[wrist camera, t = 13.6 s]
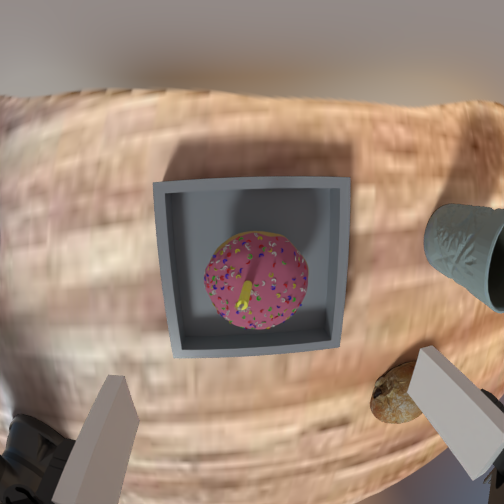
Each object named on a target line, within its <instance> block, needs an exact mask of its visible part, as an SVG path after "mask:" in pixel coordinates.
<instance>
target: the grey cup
mask: <svg viewBox="0 0 504 504" xmlns="http://www.w3.org/2000/svg"><path fill="white" fill-rule="evenodd" d="M424 251H425V255H426V257H427V260H428V261H429V263H430V264H431V265H432V266H433V267H434V268H435V269H436V270H438V271H439V272H441V273H442V274H444V275H445V276H447V277H448V278H452V279H453V280H454V281H455V282H456V283H458V284H460V285H461V286H463V287H465V288H466V289H467V290H468V291H469V292H470V293H471V294H473V295H474V296H475V297H476V298H478V299H479V300H480V301H482V302H483V303H484V304H486V305H487V306H488V307H489V308H491V309H492V310H493V311H495V312H497V313H504V209H499V208H498V209H496V210H493V209H492V208H490V207H480V206H472V205H462V204H447V205H444V206H441V207H440V208H439V209H437V210H436V211H435V212H434V214H433V215H432V216H431V218H430V220H429V222H428V224H427V227H426V230H425V235H424Z"/></svg>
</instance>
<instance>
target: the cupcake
mask: <svg viewBox="0 0 504 504" xmlns="http://www.w3.org/2000/svg"><path fill="white" fill-rule="evenodd" d="M308 276H309V269H308V265H307V262H306V260H305V259H304V257H303V256H302V255H301V254H300V251H298V250H297V249H296V248H295V246H294V245H293V244H292V243H291V242H290V241H289V240H288V239H287V238H286V237H285V236H283V235H281V234H276V233H271V232H264V231H248V232H243V233H239V234H236V235H234V236H232V237H230V238H229V239H228V240H226V241H225V242H224V243H222V244H221V245H220V246H219V247H218V248H217V249H216V251H215V252H214V254H213V256H212V257H211V260H210V262H209V264H208V265H207V267H206V269H205V271H204V286H205V289H206V291H207V293H208V295H209V297H210V299H211V301H212V304H213V305H214V307H215V308H216V310H217V313H218V314H220V315H221V316H222V317H224V318H225V319H227V320H228V321H229V323H230V324H231V323H232V324H234V325H236V326H239V327H241V328H245V329H248V328H249V329H270V328H271V327H274V326H275V325H278V324H280V323H282V322H283V323H284V322H285V320H287V319H289V318H290V316H291V317H292V315H293V314H294V313H295V312H296V311H297V309H298V308H299V306H302V304H301V303H302V301H303V299H304V297H305V295H306V292H307V287H308Z"/></svg>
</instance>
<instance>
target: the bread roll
mask: <svg viewBox="0 0 504 504" xmlns="http://www.w3.org/2000/svg"><path fill="white" fill-rule="evenodd" d="M415 365H416V362H413V361H412V362H409V363H404V364H402V365H400V366H398V367H395V368H393V369H392V370H390V371H389V372H388V373H387V374H386V375H385V376H383V377H380V378H379V379H378V380H377V381H376V384H375V389H374V391H373V394H372V398H371V401H370V408H371V411H372V413H373V414H374V416H375V417H376V418H377V419H379V420H381V421H382V422H385V423H391V424H395V423H397V424H400V423H404V422H409V421H411V420H413V419H415V418H417V417H418V416H419V415H421V414H422V413H423V412H422V411H421V410H420V409H419V407H418V406H417V405H416V403H415V402H414V401H413V399H412V398H411V397H410V396H409V394H408V393H407V391H408V388H409V385H410V382H411V379H412V375H413V372H414V369H415Z"/></svg>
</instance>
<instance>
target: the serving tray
mask: <svg viewBox="0 0 504 504" xmlns="http://www.w3.org/2000/svg"><path fill="white" fill-rule="evenodd" d="M153 196H154V211H155V224H156V236H157V246H158V256H159V265H160V273H161V281H162V289H163V296H164V303H165V310H166V317H167V323H168V329H169V335H170V341H171V347H172V352H173V357H174V358H220V357H243V356H259V355H273V354H285V353H295V352H305V351H314V350H322V349H330V348H338V347H340V340H341V332H342V323H343V314H344V304H345V293H346V282H347V268H348V252H349V230H350V177H318V176H269V177H232V178H210V179H193V180H178V181H165V182H154V183H153ZM248 231H264V232H271V233H276V234H281V235H283V236H285V237H286V238H287V239H288V240H289V241H290V242H291V243H292V244H293V245H294V246H295V248H296V249H297V250H298V251H300V254H301V255H302V256H303V257H304V259H305V260H306V262H307V265H308V269H309V276H308V287H307V292H306V295H305V297H304V299H303V301H302V303H301V304H302V306H299V308H298V309H297V311H296V312H295V313H294V314H293V315H292V317H291V316H290V318H289V319H287V320H285V322H284V323H283V322H282V323H280V324H278V325H275V326H274V327H271V328H270V329H249V328H248V329H245V328H241V327H239V326H236V325H234V324H232V323H231V324H230V323H229V321H228V320H227V319H225V318H224V317H222V316H221V315H220V314H218V313H217V310H216V308H215V307H214V305H213V304H212V301H211V299H210V297H209V295H208V293H207V291H206V289H205V286H204V271H205V269H206V267H207V265H208V264H209V262H210V260H211V257H212V256H213V254H214V252H215V251H216V249H217V248H218V247H219V246H220V245H221V244H222V243H224V242H225V241H226V240H228V239H229V238H230V237H232V236H234V235H236V234H239V233H243V232H248Z"/></svg>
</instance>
